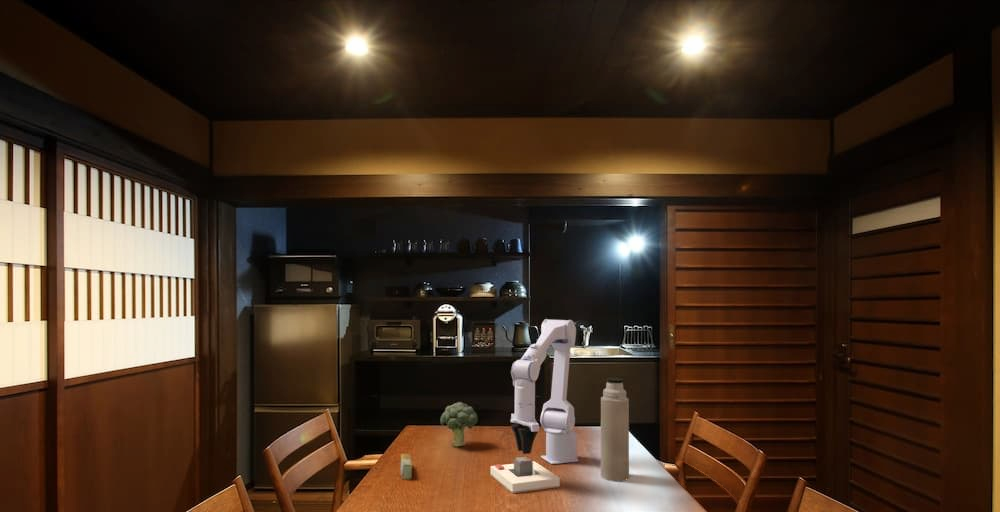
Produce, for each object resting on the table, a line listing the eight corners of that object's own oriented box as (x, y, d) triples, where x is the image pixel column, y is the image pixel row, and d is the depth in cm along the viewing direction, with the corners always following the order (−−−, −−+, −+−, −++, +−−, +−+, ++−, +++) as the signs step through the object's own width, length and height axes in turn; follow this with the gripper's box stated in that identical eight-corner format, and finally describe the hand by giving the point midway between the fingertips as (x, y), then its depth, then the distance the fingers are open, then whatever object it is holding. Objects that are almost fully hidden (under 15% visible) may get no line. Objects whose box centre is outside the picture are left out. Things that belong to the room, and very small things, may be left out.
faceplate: (534, 469, 169) (534, 459, 169) (559, 486, 154) (559, 475, 154) (490, 474, 163) (490, 464, 164) (512, 493, 149) (512, 481, 149)
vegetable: (434, 444, 195) (435, 400, 195) (465, 439, 202) (466, 396, 203) (452, 452, 185) (453, 406, 186) (484, 447, 192) (485, 402, 193)
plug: (526, 476, 161) (526, 456, 162) (532, 480, 158) (532, 460, 158) (513, 477, 160) (513, 457, 160) (519, 482, 156) (519, 461, 156)
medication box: (411, 479, 159) (412, 465, 159) (402, 480, 158) (402, 465, 159) (408, 466, 171) (409, 453, 171) (399, 467, 170) (400, 453, 170)
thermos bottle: (603, 471, 168) (603, 375, 170) (630, 474, 165) (630, 377, 167) (598, 479, 160) (598, 379, 162) (627, 482, 158) (627, 381, 160)
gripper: (501, 399, 165) (501, 446, 164) (522, 408, 152) (521, 460, 151) (523, 397, 168) (523, 444, 167) (546, 407, 154) (545, 457, 154)
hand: (524, 451), depth 159 cm, fingers open, 3 cm apart
